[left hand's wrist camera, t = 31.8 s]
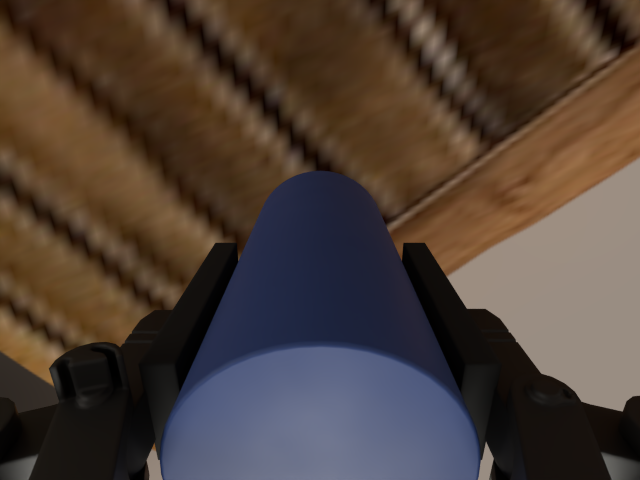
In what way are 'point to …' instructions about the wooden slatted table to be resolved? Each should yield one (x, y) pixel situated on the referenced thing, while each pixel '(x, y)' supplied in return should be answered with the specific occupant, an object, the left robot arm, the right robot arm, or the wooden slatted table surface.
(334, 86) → the wooden slatted table surface
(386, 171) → the wooden slatted table surface
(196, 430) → the cylinder
